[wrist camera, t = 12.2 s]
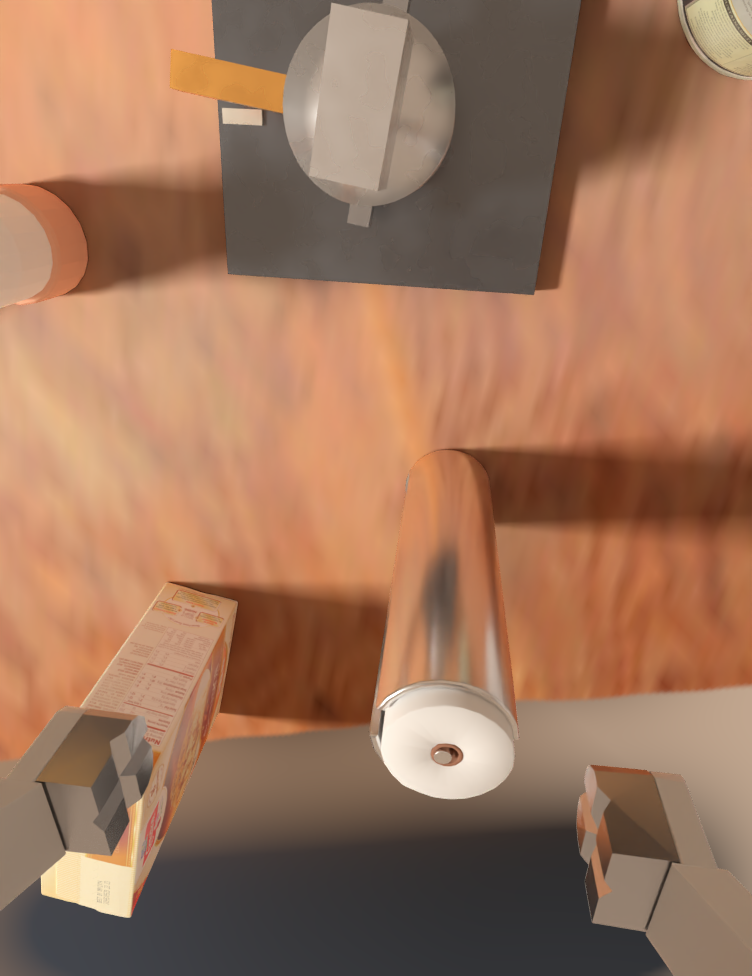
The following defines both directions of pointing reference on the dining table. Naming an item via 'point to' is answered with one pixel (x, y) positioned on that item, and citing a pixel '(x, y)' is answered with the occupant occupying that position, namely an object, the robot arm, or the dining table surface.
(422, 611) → the thermos flask
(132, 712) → the coffeecake box
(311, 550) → the dining table surface
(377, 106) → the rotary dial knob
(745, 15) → the coffee can
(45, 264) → the pepper shaker
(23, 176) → the dining table surface
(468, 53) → the post plate
